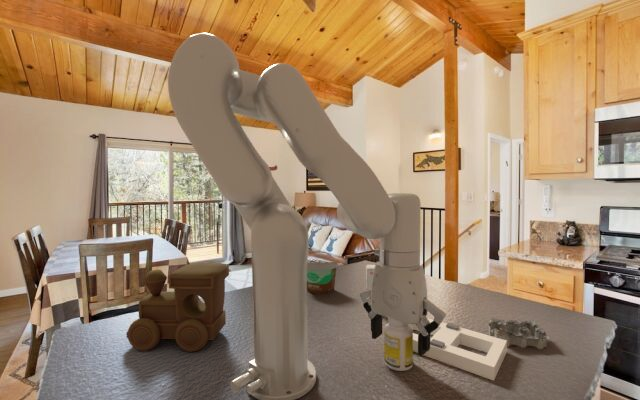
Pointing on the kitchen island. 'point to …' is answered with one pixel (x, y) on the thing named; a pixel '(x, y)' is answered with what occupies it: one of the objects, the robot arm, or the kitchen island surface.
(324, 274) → the food container
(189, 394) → the kitchen island surface
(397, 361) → the supplement bottle
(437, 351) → the socket plate
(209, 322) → the wooden toy train
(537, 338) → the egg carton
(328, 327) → the kitchen island surface
